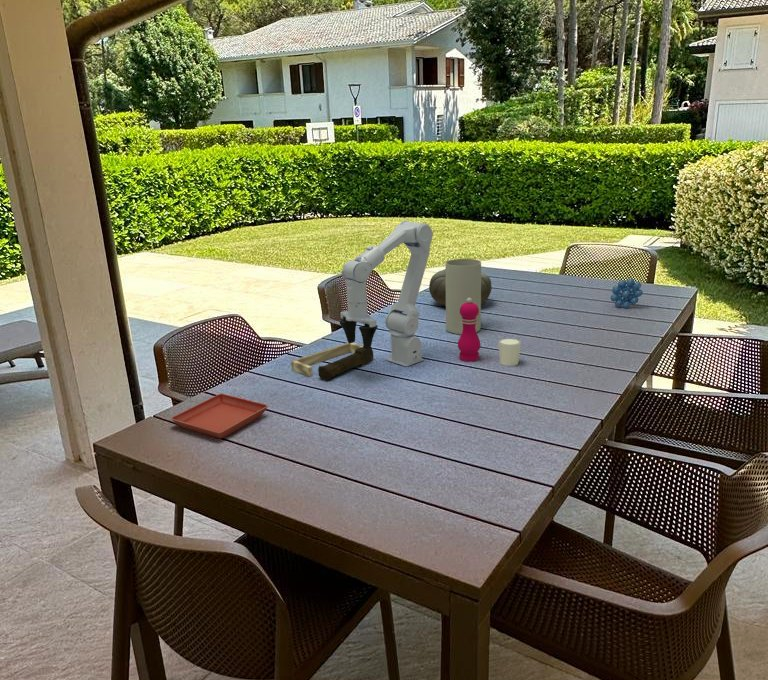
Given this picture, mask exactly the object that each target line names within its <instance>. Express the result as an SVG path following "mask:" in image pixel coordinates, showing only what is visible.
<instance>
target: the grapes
mask: <svg viewBox="0 0 768 680" xmlns="http://www.w3.org/2000/svg"><path fill="white" fill-rule="evenodd" d="M641 287H642V284H641V282H640V281H639V282H638V281H635V279H634V278H628V279H627V280H624V279H622V280H620V281H618V283H617V285H615V286H613V287H612V288H611V293H612V295H611V296H610V300H611V302H614V306H615V307H616V308H620V307H622V308H624V309H627V308H630V306H631V305H636V304H637V303H639V299H640V297H641V296H642V295H643V294H644V293H643V292H644V291H643V290H642V289H641Z"/></svg>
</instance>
